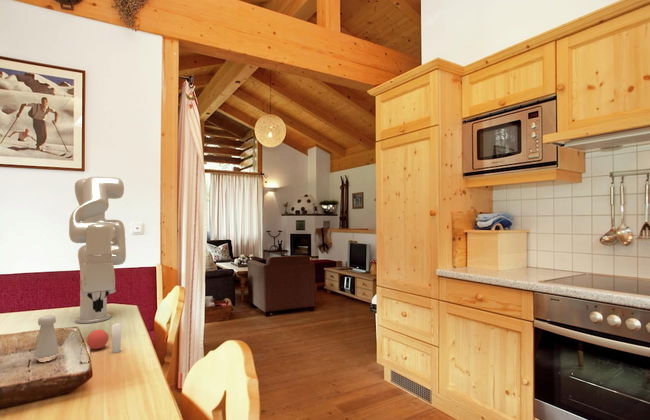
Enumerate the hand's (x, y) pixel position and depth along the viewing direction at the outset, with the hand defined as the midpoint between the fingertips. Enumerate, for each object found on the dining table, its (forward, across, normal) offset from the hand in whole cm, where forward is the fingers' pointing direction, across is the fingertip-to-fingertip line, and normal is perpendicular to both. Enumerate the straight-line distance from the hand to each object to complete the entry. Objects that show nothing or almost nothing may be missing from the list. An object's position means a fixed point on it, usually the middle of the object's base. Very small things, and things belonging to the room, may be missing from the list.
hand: (97, 311), depth 132 cm
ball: (+6, +2, +12) cm, 14 cm away
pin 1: (+8, +6, +15) cm, 18 cm away
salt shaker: (+9, +15, +14) cm, 22 cm away
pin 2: (+9, -2, +19) cm, 21 cm away
